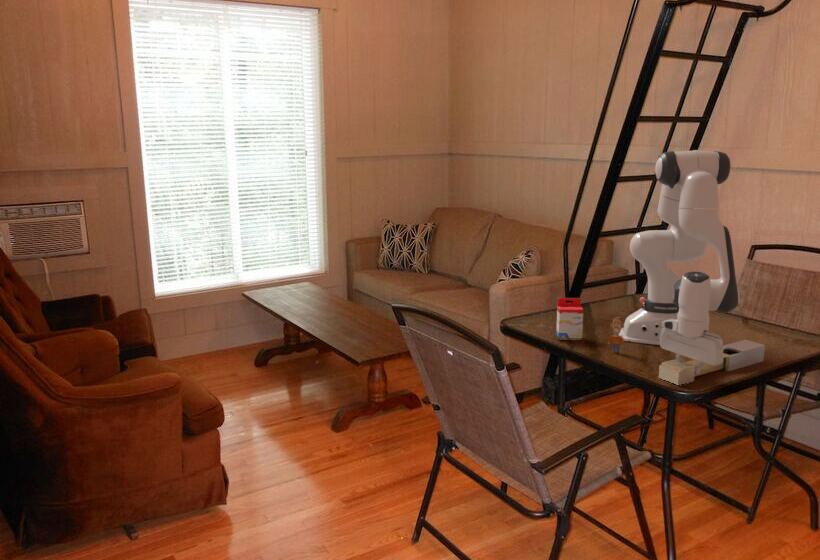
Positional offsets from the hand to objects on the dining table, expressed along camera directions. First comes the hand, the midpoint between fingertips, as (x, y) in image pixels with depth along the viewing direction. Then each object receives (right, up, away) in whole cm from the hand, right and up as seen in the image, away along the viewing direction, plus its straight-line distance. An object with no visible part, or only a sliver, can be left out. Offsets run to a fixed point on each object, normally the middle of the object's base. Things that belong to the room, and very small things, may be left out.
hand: (689, 370), depth 203 cm
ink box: (-27, +6, +39) cm, 48 cm away
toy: (-15, +3, +23) cm, 28 cm away
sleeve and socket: (+10, 0, +6) cm, 11 cm away
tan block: (+5, -1, +3) cm, 6 cm away
